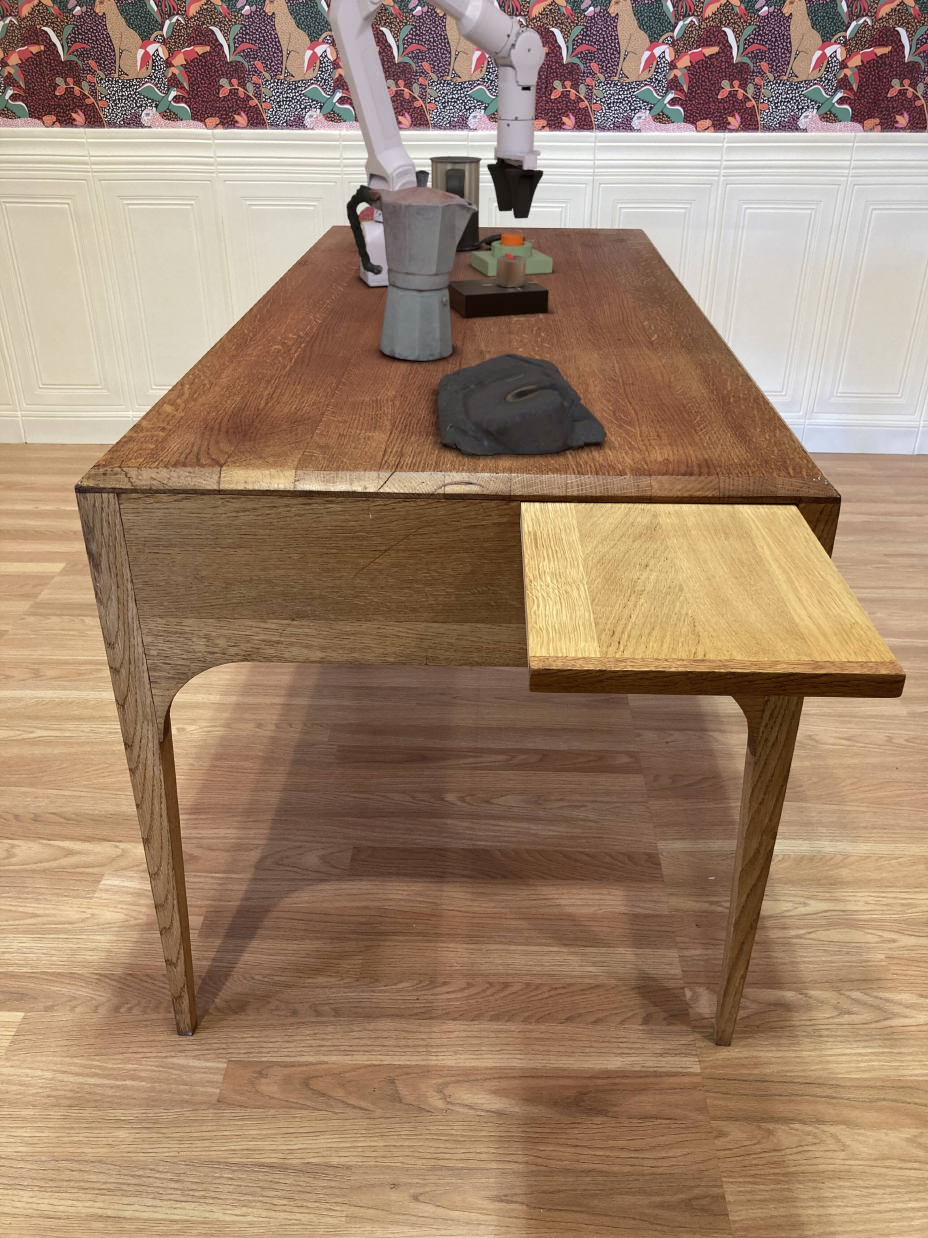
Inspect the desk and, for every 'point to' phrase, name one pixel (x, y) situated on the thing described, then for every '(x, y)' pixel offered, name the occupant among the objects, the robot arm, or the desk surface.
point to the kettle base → (534, 259)
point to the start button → (512, 239)
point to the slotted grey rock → (513, 409)
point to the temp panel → (496, 298)
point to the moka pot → (415, 264)
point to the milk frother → (462, 192)
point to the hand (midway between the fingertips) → (513, 214)
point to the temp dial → (510, 271)
